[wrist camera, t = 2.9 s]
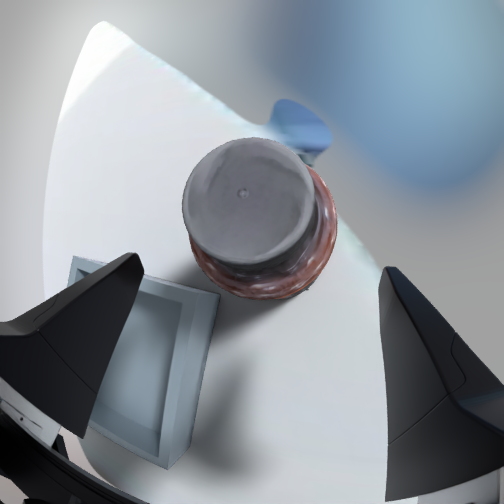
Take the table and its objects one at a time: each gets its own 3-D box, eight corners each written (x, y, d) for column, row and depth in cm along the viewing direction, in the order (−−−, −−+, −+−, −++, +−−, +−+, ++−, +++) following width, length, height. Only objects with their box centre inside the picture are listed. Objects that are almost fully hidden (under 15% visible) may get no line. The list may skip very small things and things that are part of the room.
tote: (189, 446, 17) (167, 469, 14) (88, 394, 20) (59, 404, 16) (220, 294, 19) (198, 293, 15) (105, 262, 21) (73, 255, 18)
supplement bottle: (232, 293, 19) (135, 285, 8) (243, 210, 20) (171, 116, 9) (320, 303, 18) (340, 312, 7) (327, 215, 18) (346, 113, 7)
